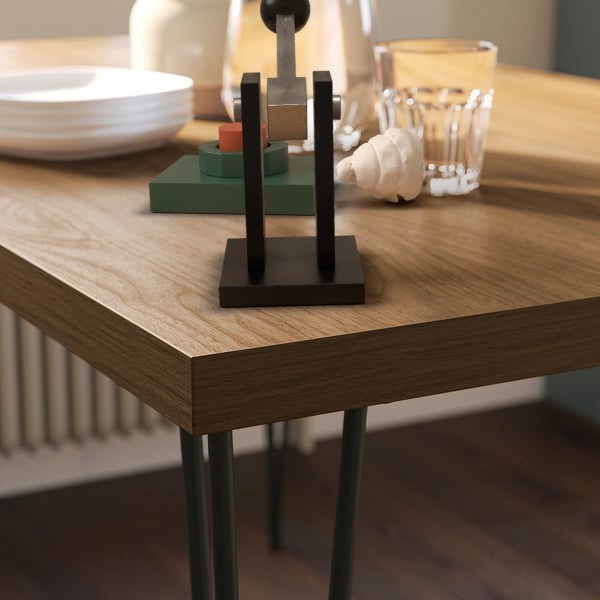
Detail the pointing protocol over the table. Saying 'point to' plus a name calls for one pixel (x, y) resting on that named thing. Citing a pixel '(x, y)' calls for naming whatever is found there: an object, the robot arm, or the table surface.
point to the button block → (234, 182)
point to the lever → (286, 71)
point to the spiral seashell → (386, 165)
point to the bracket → (290, 250)
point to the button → (236, 137)
